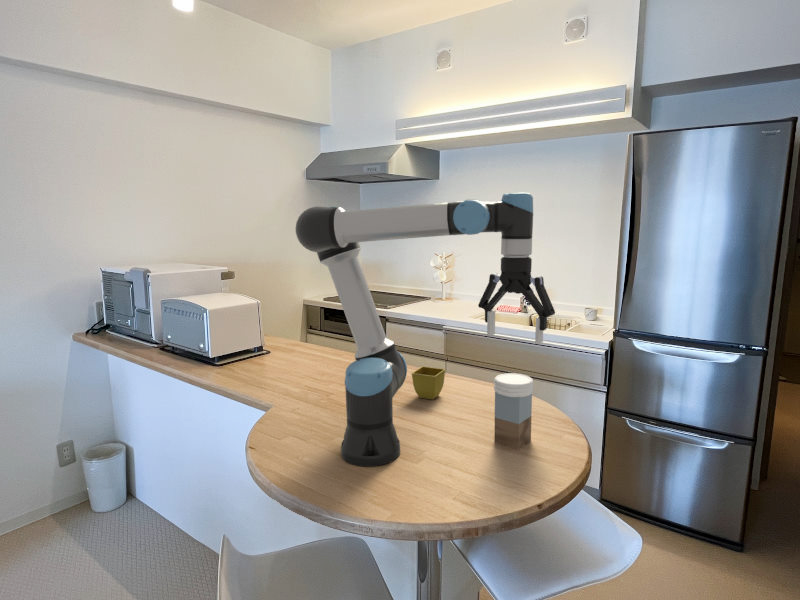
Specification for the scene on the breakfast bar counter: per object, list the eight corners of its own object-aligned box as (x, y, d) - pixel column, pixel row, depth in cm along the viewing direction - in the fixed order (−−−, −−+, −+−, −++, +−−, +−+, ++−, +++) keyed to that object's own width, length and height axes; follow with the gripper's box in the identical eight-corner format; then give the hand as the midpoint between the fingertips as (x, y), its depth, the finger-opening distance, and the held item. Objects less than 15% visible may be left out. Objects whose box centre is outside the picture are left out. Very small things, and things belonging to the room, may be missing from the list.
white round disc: (505, 382, 134) (505, 370, 133) (539, 389, 127) (539, 377, 127) (487, 392, 126) (487, 379, 125) (522, 401, 120) (522, 387, 119)
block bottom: (518, 450, 124) (519, 424, 123) (494, 442, 129) (494, 417, 127) (530, 440, 129) (531, 415, 128) (507, 433, 134) (507, 409, 133)
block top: (518, 424, 123) (519, 397, 122) (494, 417, 127) (495, 391, 126) (531, 415, 128) (532, 390, 127) (507, 409, 133) (508, 384, 132)
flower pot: (411, 399, 161) (410, 372, 160) (422, 390, 169) (422, 365, 167) (435, 403, 157) (435, 376, 156) (445, 394, 165) (445, 369, 163)
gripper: (571, 257, 116) (567, 343, 119) (481, 253, 132) (480, 329, 135) (558, 259, 110) (554, 349, 114) (465, 255, 126) (465, 334, 130)
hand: (514, 338), depth 124 cm, fingers open, 13 cm apart
